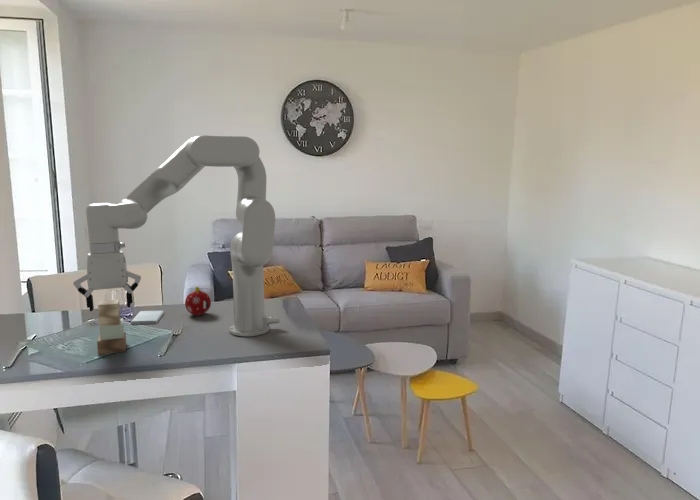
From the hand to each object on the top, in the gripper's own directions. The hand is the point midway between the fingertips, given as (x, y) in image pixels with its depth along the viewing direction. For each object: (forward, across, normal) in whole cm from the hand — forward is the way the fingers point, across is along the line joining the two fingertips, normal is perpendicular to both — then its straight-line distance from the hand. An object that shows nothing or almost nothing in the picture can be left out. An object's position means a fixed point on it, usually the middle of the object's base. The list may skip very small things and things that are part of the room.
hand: (110, 308), depth 153 cm
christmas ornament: (+13, -25, -28) cm, 40 cm away
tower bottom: (+12, 0, 0) cm, 12 cm away
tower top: (+8, 0, 0) cm, 8 cm away
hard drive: (+13, -9, -28) cm, 33 cm away
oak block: (+4, 0, 0) cm, 4 cm away
